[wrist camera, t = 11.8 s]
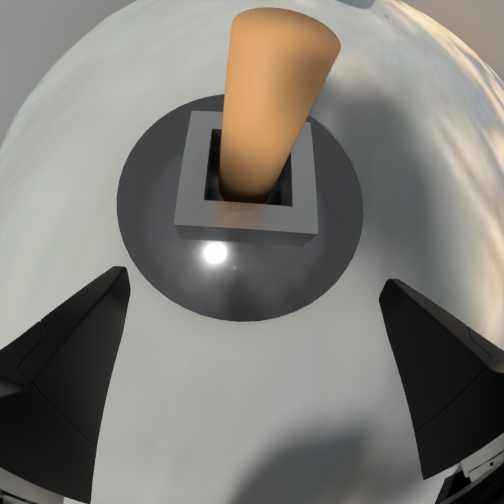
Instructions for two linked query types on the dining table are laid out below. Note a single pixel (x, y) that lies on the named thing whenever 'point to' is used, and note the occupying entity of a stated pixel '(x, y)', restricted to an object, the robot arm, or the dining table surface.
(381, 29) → the dining table surface
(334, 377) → the dining table surface
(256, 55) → the pin
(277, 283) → the rosette plate
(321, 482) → the dining table surface
